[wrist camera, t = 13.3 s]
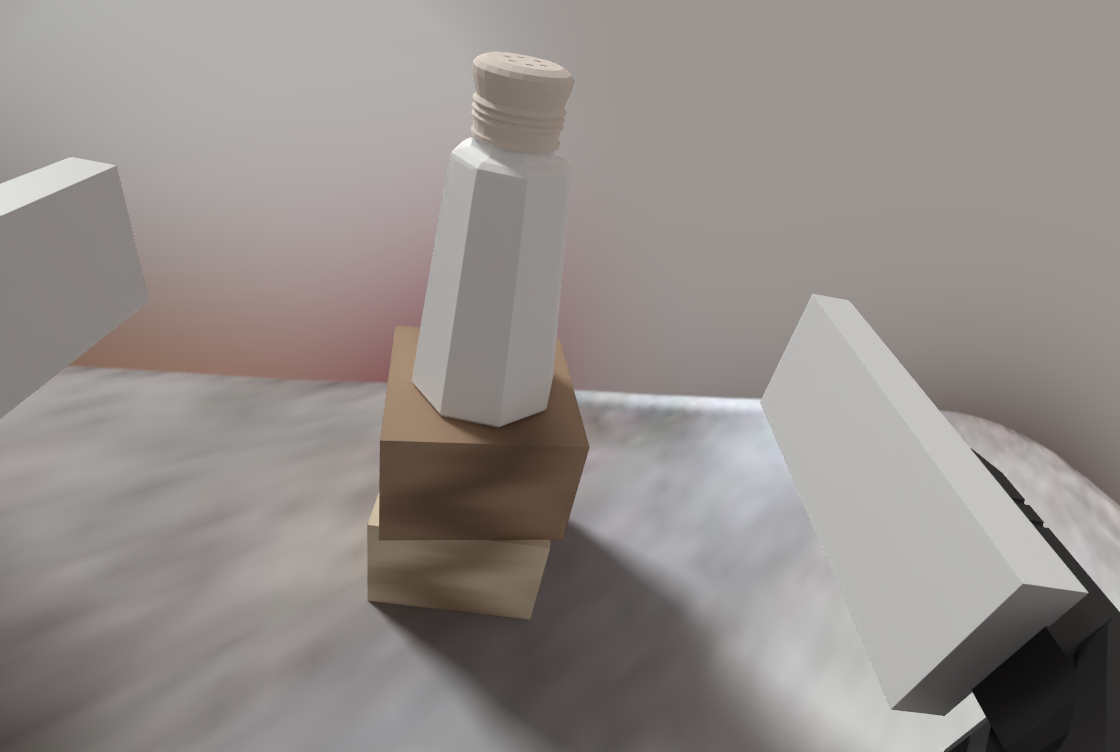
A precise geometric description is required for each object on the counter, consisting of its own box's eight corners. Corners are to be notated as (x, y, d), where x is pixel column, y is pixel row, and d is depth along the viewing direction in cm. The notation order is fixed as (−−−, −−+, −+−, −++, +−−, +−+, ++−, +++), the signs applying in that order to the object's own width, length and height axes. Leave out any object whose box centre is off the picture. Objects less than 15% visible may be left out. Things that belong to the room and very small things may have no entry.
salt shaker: (405, 343, 23) (414, 29, 17) (535, 342, 25) (586, 57, 19) (418, 434, 19) (436, 66, 13) (572, 425, 21) (654, 97, 15)
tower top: (378, 540, 22) (380, 440, 19) (392, 417, 27) (395, 325, 24) (562, 539, 23) (589, 447, 20) (540, 423, 29) (559, 338, 26)
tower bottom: (367, 601, 25) (367, 524, 22) (404, 482, 31) (408, 409, 28) (530, 620, 26) (549, 548, 23) (536, 500, 31) (553, 430, 28)
